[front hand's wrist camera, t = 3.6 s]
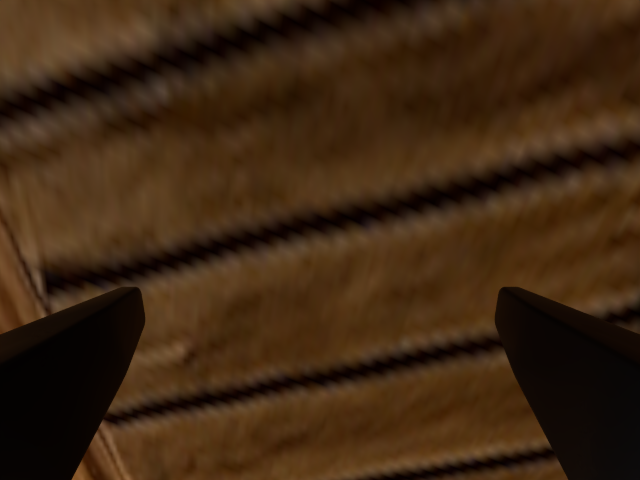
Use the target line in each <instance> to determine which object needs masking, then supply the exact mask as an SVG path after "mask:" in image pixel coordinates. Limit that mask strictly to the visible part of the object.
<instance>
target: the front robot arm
mask: <svg viewBox="0 0 640 480" xmlns="http://www.w3.org/2000/svg"><path fill="white" fill-rule="evenodd" d="M144 325H145V312H144V306H143V300H142V294H141V291H140V289H139V288H138V287H121V288H118V289H115V290H113V291H110V292H108V293H105V294H103V295H100V296H98V297H95V298H92V299H90V300H87V301H85V302H82V303H80V304H77V305H75V306H72V307H69V308H67V309H64V310H62V311H59V312H57V313H54V314H52V315H49V316H46V317H44V318H41V319H39V320H36V321H34V322H31V323H29V324H26V325H23V326H21V327H18V328H16V329H13V330H11V331H8V332H6V333H3V334H0V480H72V478H73V476H74V474H75V472H76V470H77V468H78V466H79V464H80V462H81V460H82V458H83V457H84V455H85V453H86V451H87V449H88V447H89V445H90V443H91V441H92V439H93V437H94V435H95V433H96V432H97V430H98V428H99V426H100V424H101V422H102V420H103V418H104V416H105V414H106V412H107V410H108V408H109V406H110V405H111V403H112V401H113V399H114V397H115V395H116V393H117V391H118V389H119V387H120V385H121V383H122V381H123V379H124V377H125V375H126V373H127V370H128V368H129V365H130V363H131V360H132V357H133V355H134V352H135V349H136V347H137V344H138V341H139V339H140V336H141V333H142V331H143V328H144ZM495 325H496V328H497V331H498V333H499V336H500V339H501V341H502V344H503V347H504V349H505V352H506V355H507V357H508V360H509V363H510V365H511V368H512V370H513V373H514V375H515V377H516V379H517V381H518V383H519V385H520V387H521V389H522V391H523V393H524V395H525V397H526V399H527V401H528V403H529V405H530V407H531V408H532V410H533V412H534V414H535V416H536V418H537V420H538V422H539V424H540V426H541V428H542V430H543V432H544V433H545V435H546V437H547V439H548V441H549V443H550V445H551V447H552V449H553V451H554V453H555V455H556V457H557V458H558V460H559V462H560V464H561V466H562V468H563V470H564V472H565V474H566V476H567V478H568V480H640V334H637V333H634V332H632V331H629V330H627V329H624V328H622V327H619V326H617V325H614V324H611V323H609V322H606V321H604V320H601V319H599V318H596V317H594V316H591V315H588V314H586V313H583V312H581V311H578V310H576V309H573V308H571V307H568V306H565V305H563V304H560V303H558V302H555V301H553V300H550V299H548V298H545V297H542V296H540V295H537V294H535V293H532V292H530V291H527V290H525V289H522V288H519V287H502V288H501V289H500V291H499V294H498V300H497V306H496V312H495Z"/></svg>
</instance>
